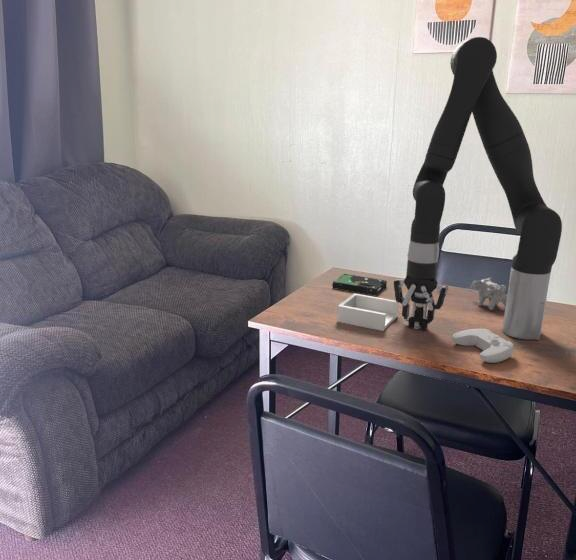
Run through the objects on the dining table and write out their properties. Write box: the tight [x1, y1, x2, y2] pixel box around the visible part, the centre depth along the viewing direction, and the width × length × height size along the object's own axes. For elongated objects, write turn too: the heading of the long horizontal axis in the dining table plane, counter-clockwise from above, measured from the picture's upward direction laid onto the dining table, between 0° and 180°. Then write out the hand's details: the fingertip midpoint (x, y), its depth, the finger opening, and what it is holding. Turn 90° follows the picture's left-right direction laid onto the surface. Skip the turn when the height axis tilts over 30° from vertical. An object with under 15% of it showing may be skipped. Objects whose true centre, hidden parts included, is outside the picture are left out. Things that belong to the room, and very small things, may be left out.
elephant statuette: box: [469, 277, 508, 311], centre depth 165 cm, size 9×12×8 cm
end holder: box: [336, 292, 399, 332], centre depth 152 cm, size 13×12×4 cm
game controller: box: [451, 328, 515, 364], centre depth 134 cm, size 14×4×10 cm
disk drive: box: [331, 273, 388, 296], centre depth 179 cm, size 10×3×15 cm
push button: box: [402, 292, 432, 332], centre depth 146 cm, size 7×5×10 cm
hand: (417, 320), depth 147 cm, fingers closed on push button, 5 cm apart
